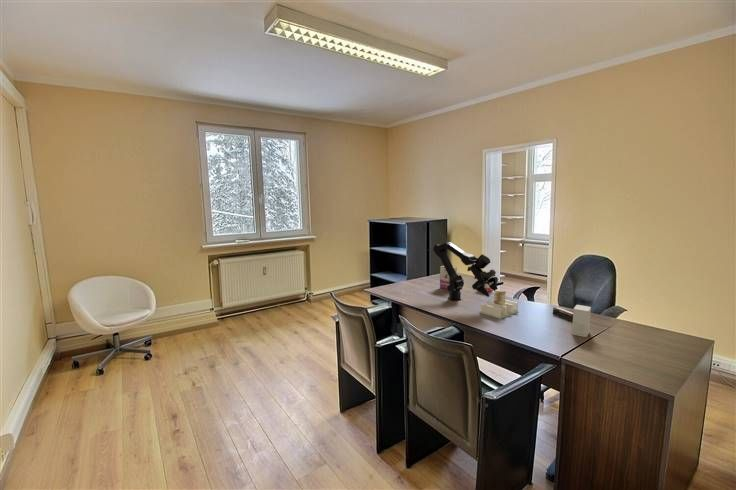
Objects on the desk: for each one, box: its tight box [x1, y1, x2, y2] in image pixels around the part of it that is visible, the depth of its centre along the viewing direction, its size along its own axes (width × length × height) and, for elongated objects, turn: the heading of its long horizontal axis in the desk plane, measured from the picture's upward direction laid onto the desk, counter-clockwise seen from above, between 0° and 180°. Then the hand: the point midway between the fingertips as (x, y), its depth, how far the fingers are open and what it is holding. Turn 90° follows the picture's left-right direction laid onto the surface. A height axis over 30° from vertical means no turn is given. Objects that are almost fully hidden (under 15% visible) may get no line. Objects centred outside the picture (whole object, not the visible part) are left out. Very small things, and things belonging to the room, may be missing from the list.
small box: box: [571, 304, 592, 338], centre depth 169 cm, size 8×6×13 cm
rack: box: [479, 298, 519, 320], centre depth 200 cm, size 13×18×6 cm
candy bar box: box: [439, 265, 458, 291], centre depth 250 cm, size 11×5×16 cm, turn 43°
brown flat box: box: [552, 306, 573, 322], centre depth 193 cm, size 14×25×4 cm, turn 19°
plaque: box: [493, 288, 507, 306], centre depth 200 cm, size 5×3×12 cm, turn 37°
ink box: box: [485, 277, 494, 293], centre depth 247 cm, size 8×5×12 cm, turn 39°
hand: (493, 295), depth 203 cm, fingers open, 9 cm apart
